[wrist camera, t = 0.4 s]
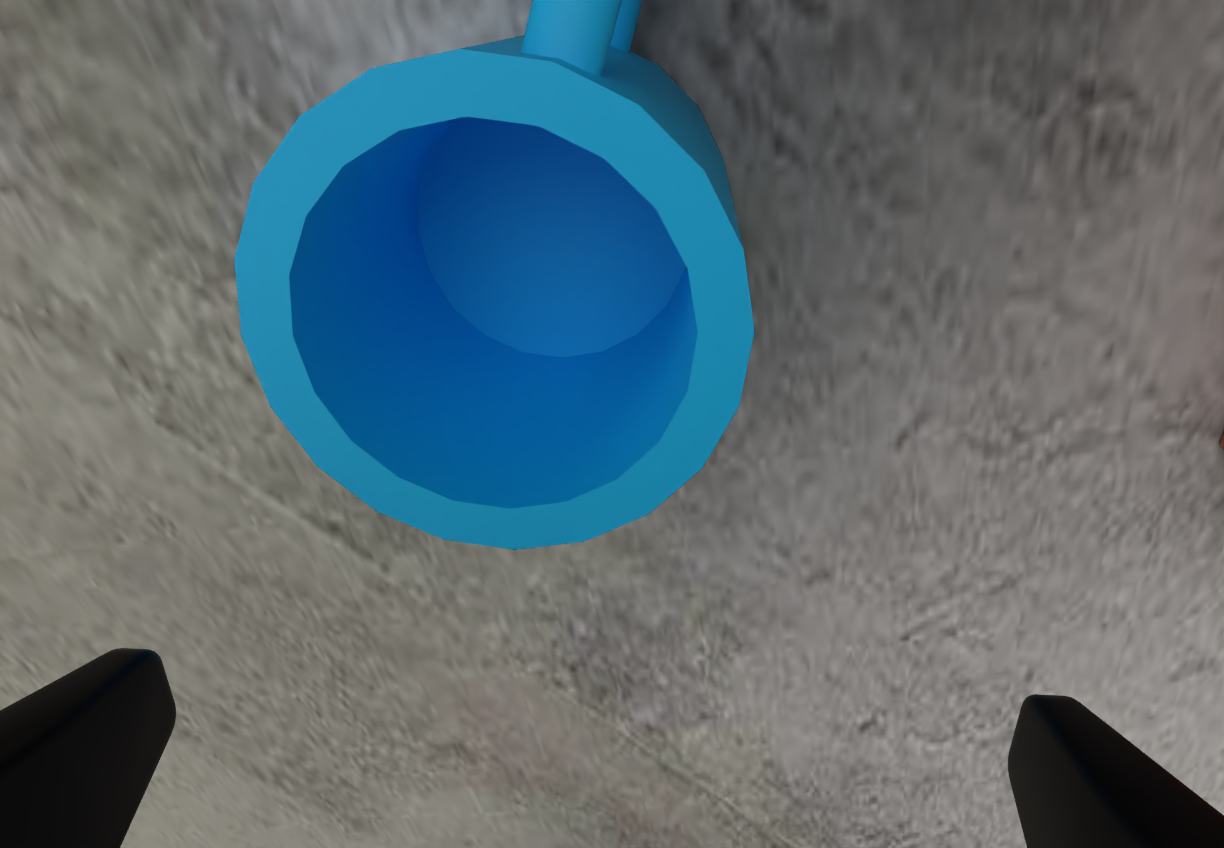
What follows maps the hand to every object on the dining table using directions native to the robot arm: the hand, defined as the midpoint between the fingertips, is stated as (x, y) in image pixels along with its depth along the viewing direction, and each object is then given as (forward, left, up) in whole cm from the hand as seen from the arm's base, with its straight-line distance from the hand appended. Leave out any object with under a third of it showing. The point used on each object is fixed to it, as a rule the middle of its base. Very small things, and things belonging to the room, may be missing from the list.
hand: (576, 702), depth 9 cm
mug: (+4, +1, -14) cm, 15 cm away
